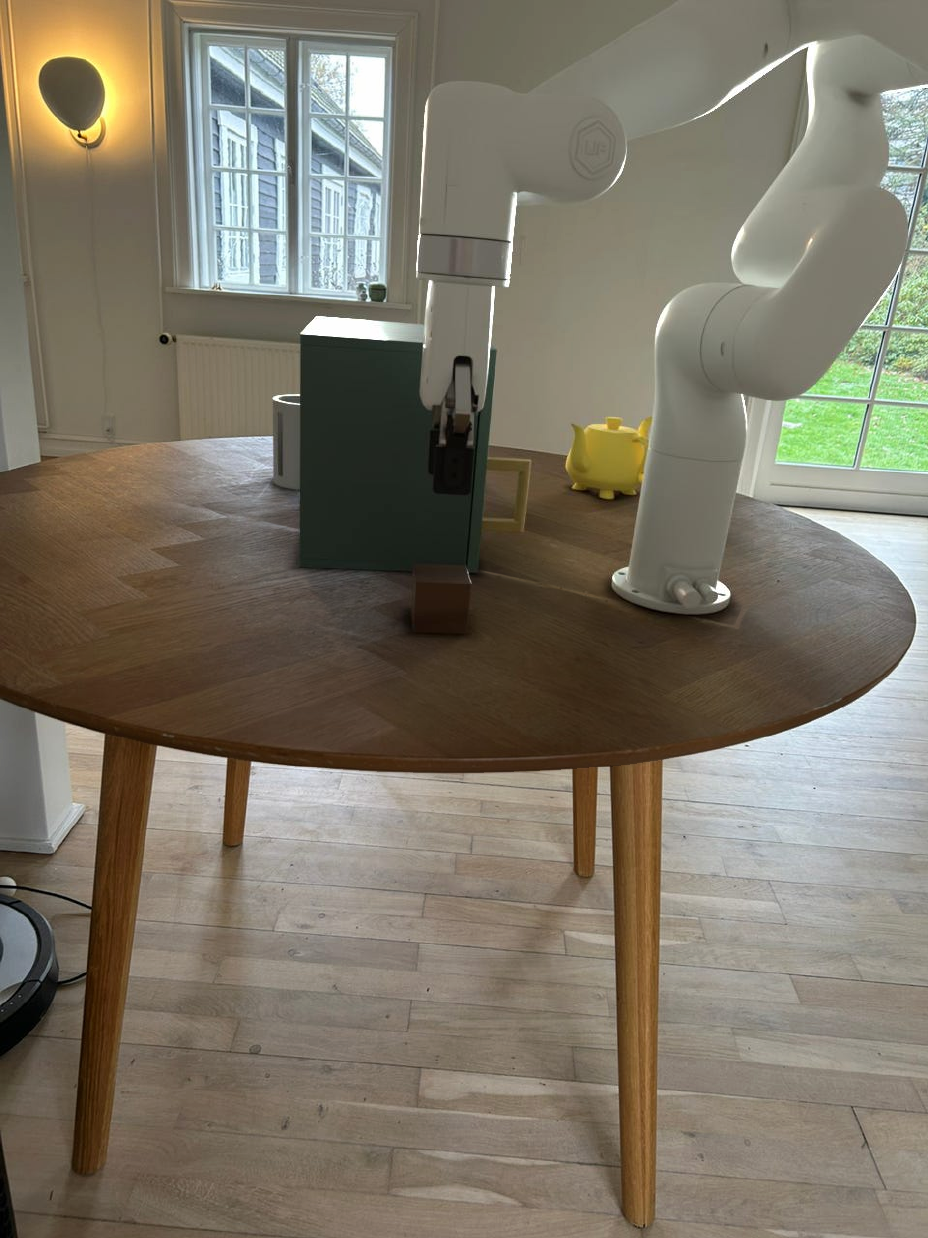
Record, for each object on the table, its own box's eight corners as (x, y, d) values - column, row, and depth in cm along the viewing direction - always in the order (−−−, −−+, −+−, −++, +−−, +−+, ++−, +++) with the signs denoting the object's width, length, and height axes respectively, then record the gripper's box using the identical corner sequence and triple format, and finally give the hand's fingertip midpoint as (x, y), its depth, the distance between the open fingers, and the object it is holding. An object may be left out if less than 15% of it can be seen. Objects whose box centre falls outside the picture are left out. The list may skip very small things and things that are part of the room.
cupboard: (446, 509, 118) (459, 327, 108) (465, 573, 94) (484, 346, 85) (314, 503, 115) (316, 316, 106) (299, 567, 92) (300, 333, 82)
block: (467, 634, 79) (471, 583, 77) (413, 632, 78) (415, 581, 76) (461, 613, 83) (465, 565, 81) (410, 611, 82) (413, 563, 81)
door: (493, 510, 118) (509, 332, 109) (523, 574, 95) (547, 353, 85) (448, 508, 118) (461, 328, 108) (466, 572, 94) (485, 348, 85)
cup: (345, 480, 128) (347, 399, 124) (321, 493, 120) (322, 407, 116) (290, 472, 130) (289, 392, 126) (262, 485, 122) (261, 399, 117)
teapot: (604, 511, 123) (616, 432, 119) (530, 487, 133) (539, 413, 129) (684, 496, 136) (697, 423, 132) (611, 475, 146) (621, 407, 142)
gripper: (412, 259, 76) (402, 460, 83) (423, 260, 60) (409, 508, 67) (495, 266, 77) (478, 464, 84) (527, 269, 61) (503, 512, 68)
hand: (448, 481), depth 75 cm, fingers open, 6 cm apart
